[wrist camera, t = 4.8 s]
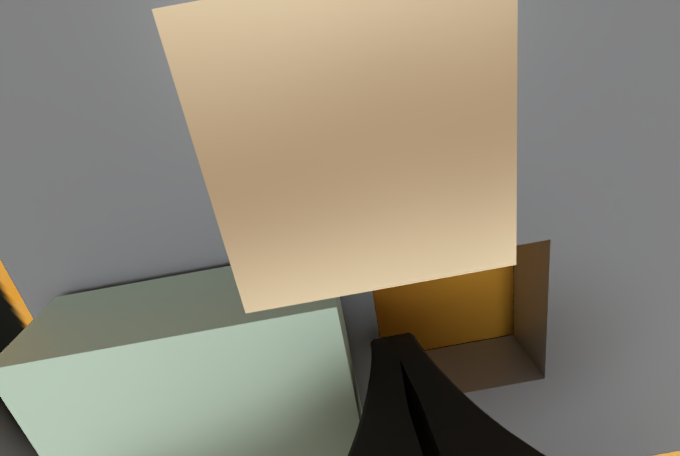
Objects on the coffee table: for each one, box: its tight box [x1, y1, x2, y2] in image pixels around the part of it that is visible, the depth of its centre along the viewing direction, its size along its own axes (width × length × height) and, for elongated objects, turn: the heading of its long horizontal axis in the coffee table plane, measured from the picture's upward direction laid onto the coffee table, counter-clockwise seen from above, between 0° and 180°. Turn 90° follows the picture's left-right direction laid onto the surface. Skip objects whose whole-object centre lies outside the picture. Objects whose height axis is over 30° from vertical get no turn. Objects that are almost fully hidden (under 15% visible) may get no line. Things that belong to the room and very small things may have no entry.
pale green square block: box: [0, 266, 362, 456], centre depth 12 cm, size 8×8×3 cm
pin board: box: [0, 0, 680, 456], centre depth 14 cm, size 20×24×2 cm
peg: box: [152, 0, 518, 313], centre depth 8 cm, size 4×4×6 cm
